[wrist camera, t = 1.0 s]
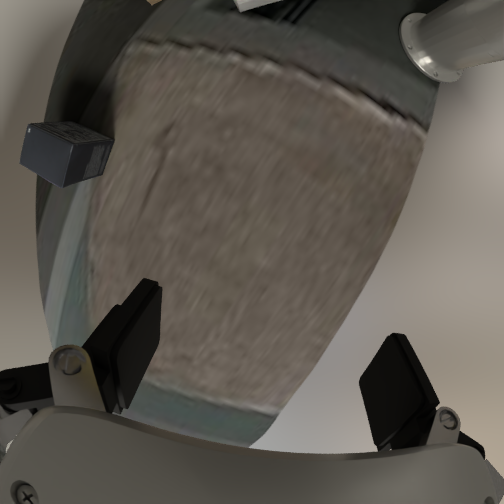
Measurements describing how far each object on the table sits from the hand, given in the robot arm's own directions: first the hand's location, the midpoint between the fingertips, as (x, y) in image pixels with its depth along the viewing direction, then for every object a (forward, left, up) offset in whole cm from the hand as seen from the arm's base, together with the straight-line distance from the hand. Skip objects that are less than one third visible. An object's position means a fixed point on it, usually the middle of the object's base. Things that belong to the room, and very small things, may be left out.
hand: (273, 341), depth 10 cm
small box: (+23, -19, -29) cm, 42 cm away
